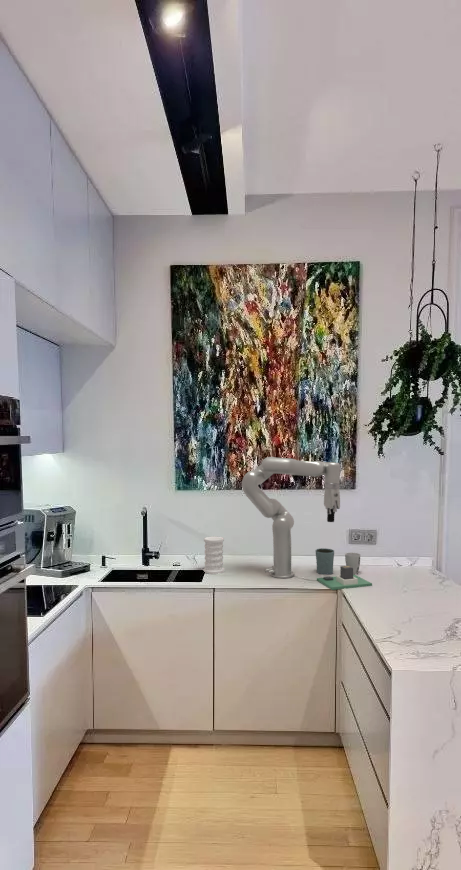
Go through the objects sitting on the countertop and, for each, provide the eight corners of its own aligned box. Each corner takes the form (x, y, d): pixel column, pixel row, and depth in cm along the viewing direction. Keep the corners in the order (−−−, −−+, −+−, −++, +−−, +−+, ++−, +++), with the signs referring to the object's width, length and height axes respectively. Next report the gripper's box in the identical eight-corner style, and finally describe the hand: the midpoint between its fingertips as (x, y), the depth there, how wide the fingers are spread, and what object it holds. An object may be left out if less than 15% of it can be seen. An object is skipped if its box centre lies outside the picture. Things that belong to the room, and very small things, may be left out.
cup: (361, 575, 252) (360, 556, 252) (345, 574, 254) (345, 555, 254) (360, 571, 260) (359, 552, 260) (344, 570, 262) (344, 552, 262)
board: (331, 589, 228) (331, 582, 228) (316, 580, 243) (316, 573, 243) (372, 585, 234) (372, 578, 234) (354, 576, 249) (354, 569, 249)
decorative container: (199, 571, 260) (198, 538, 261) (213, 567, 269) (213, 535, 269) (214, 575, 253) (214, 541, 253) (228, 570, 262) (228, 538, 262)
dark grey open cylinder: (328, 569, 264) (328, 547, 264) (338, 574, 255) (338, 551, 255) (312, 571, 261) (312, 549, 261) (321, 575, 251) (321, 553, 251)
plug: (345, 582, 233) (345, 568, 233) (340, 580, 237) (340, 565, 237) (354, 581, 234) (354, 567, 234) (349, 579, 239) (349, 565, 239)
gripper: (345, 488, 239) (344, 524, 239) (332, 484, 254) (330, 519, 254) (331, 487, 237) (330, 524, 237) (319, 484, 252) (317, 519, 252)
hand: (330, 521), depth 246 cm, fingers closed
